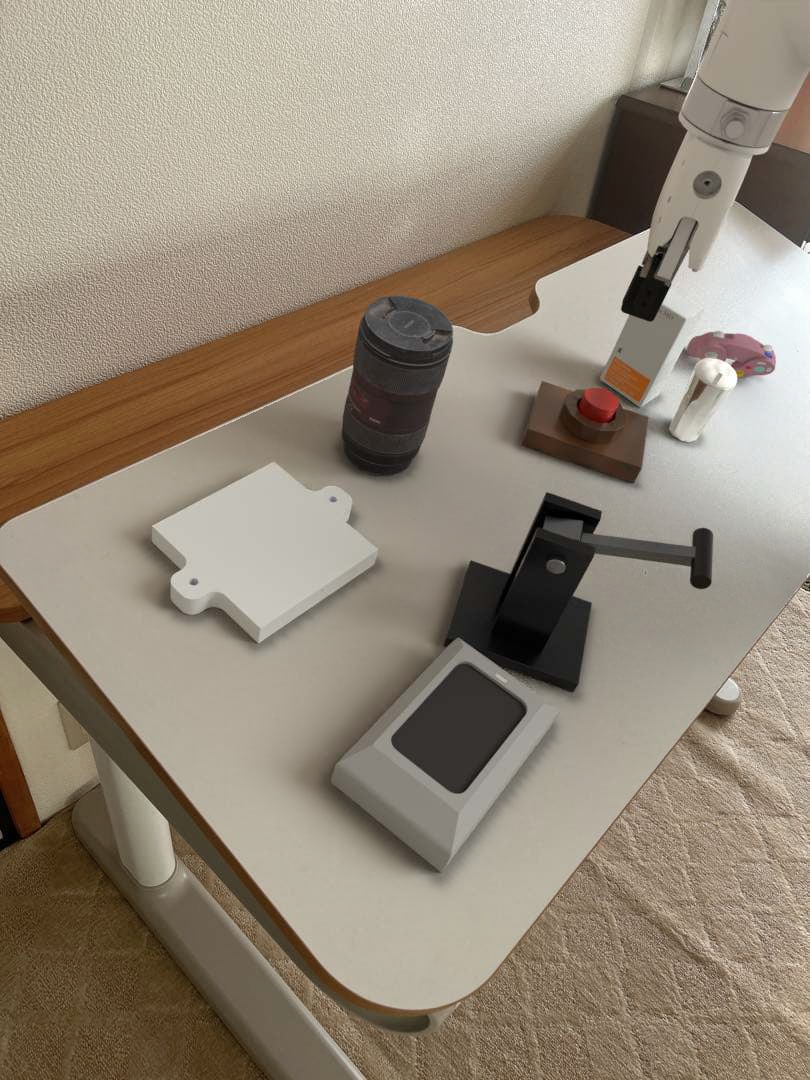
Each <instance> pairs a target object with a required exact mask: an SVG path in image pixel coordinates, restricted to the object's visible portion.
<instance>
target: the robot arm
mask: <svg viewBox="0 0 810 1080" xmlns="http://www.w3.org/2000/svg"><path fill="white" fill-rule="evenodd" d="M703 56H704V57H703V59H702V61H701V63H700V66H699V68H698V69H697V72H696V75H695V77H694V79H693V82H692V84H691V86H690V89H689V90H688V93H687V94H686V97H685V100H684V102H683V104H682V107H681V109H680V112H679V113H678V117H677V118H678V122H680V124H681V126H682V127H683V128H684V129H686V130H687V131H686V133H685V135H684V137H683V140H682V142H681V145H680V146H679V148H678V151H677V153H676V155H675V158H674V160H673V162H672V165H671V167H670V169H669V170H668V171H669V172H668V174H667V177H666V179H665V181H664V183H663V186H662V188H661V191H660V193H659V196H658V199H657V202H656V205H655V207H654V211H653V214H652V218H651V223H650V228H649V233H648V234H649V235H648V241H647V248H646V252H645V254H644V256H643V258H642V261H641V265H637V268H636V270H635V272H634V274H633V277H632V279H631V281H630V283H629V285H628V288H627V290H626V292H625V294H624V297H623V299H622V302H621V307H620V311H621V312H622V313H623V314H626V315H628V316H629V315H632V316H635V317H637V318H640V319H643V320H646V321H649V322H651V321H653V320H654V319H655V317H656V315H657V313H658V311H659V309H660V307H661V305H662V303H663V301H664V299H665V297H666V295H667V293H668V291H669V289H670V288H672V284H673V281H674V279H675V277H676V275H677V273H678V272H679V269H680V267H681V266H682V263H683V262H684V260H685V258H686V257H687V254H688V269H691V271H692V272H693V273H697V272H700V271H701V270H703V268H704V266H705V265H706V262H707V260H708V257H709V255H710V253H711V251H712V249H713V247H714V244H715V243H716V240H717V239H718V236H719V234H720V232H721V230H722V228H723V225H724V224H725V221H726V219H727V218H728V215H729V213H730V211H731V208H732V206H733V204H734V203H735V200H736V198H737V196H738V194H739V191H740V189H741V187H742V184H743V183H744V179H745V178H746V174H747V173H748V169H749V167H750V165H751V162H752V159H753V156H758V155H764V154H766V153H767V152H768V151H769V149H770V147H771V145H772V144H773V142H774V139H775V137H776V136H777V134H778V132H779V130H780V128H781V126H782V124H783V122H784V120H785V119H786V116H787V115H788V112H789V111H790V108H791V107H792V105H793V104H794V101H795V100H796V98H797V95H798V94H799V92H800V90H801V88H802V86H803V84H804V82H805V81H806V79H807V77H808V75H809V73H810V0H728V1H727V4H726V6H725V9H724V11H723V13H722V15H721V17H720V20H719V22H718V24H717V27H716V29H715V31H714V34H713V36H712V38H711V41H710V43H709V45H708V48H707V50H706V52H705V54H704V55H703Z"/></svg>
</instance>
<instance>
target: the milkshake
mask: <svg viewBox="0 0 810 1080" xmlns="http://www.w3.org/2000/svg"><path fill="white" fill-rule="evenodd" d="M737 383H738V378H737V374H736V372H735V370H734V369H733V368H732V367H731V364H729V363H728V362H727V361H725V362H724V361H722V360H719V359H712V358H705V359H702V360H701V359H699V360H698V361H697V362H696V363H695V365H694V367H693V370H692V372H691V375H690V377H689V379H688V382H687V385H686V388H685V389H684V390H685V391H684V393H683V395H682V397H681V399H680V401H679V404H678V406H677V408H676V410H675V412H674V415H673V417H672V419H671V422H670V424H669V428H668V430H669V432H670V434H671V435H672V436H673V438H674V437H675V438H676V439H678V440H679V441H682V442H685V443H691V442H695V441H697V439H698V438H699V437H700V435H701V433H702V432H703V431H704V429H705V428H706V427H707V426H708V424H709V422H710V421H711V419H712V418H713V417H714V415H715V414H716V412H717V411H718V409H719V408H720V407H721V405H722V404H723V402H724V401H725V400H726V399H727V397H728V396H729V395H730V393H731V392H732V391H733V389H734V388H735V386H736V385H737Z"/></svg>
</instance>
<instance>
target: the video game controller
mask: <svg viewBox="0 0 810 1080" xmlns="http://www.w3.org/2000/svg"><path fill="white" fill-rule="evenodd" d="M686 353H687V355H688V357H690V358H697V359H699V360H702V359H705V358H712V359H719V360H722V361H724V362H727V361H726V360H727V359H728V360H732V361H733V362H731V364H730V366H731V367H732V368H733V369H734V370H735V372H736V374H737V379H745V378H748V377H751V376H767V375H770V374H772V373H773V372H774V371H775V369H776V365H777V359H776V354H775V351H774V349H773V346H772V345H770V344H763V343H761V342H760V341H759V340H757V339H755V338H754V337H752V336H751V335H748V334H744V333H728V332H727V333H726V332H725V333H724V332H723V331H721V330H716V331H709V332H705V333H703V334H700V335H695V336H693V337H691V339H690V340H689V342H688V344H687V347H686Z"/></svg>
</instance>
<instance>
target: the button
mask: <svg viewBox="0 0 810 1080" xmlns="http://www.w3.org/2000/svg"><path fill="white" fill-rule="evenodd" d="M586 389H587V390H586V391H585V392H584V395H583V397H582V399H581V401H580V404H579V411H580V412H581V414H583V415H584V416H585V417H587V418H588V419H590V420H593V421H596V422H598V423H606V422H609V421H610V420H611V419H612V417H613V415H614V413H615V411H616V409H617V407H618V402H619V399H618V398H617V396H616V395H615V394H613V393H612V392H611V391H609V390H608V389H606V388H602V387H598V386H593V387H589V388H586Z"/></svg>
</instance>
